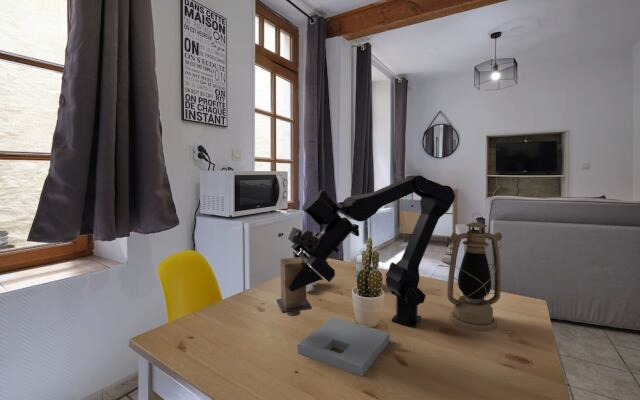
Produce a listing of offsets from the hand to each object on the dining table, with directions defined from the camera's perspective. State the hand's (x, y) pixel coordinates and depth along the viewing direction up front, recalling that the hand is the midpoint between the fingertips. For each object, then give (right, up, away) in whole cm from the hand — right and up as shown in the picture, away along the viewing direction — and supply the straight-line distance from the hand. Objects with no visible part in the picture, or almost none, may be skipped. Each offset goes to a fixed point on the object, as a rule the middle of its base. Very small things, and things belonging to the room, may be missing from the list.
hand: (287, 286), depth 77 cm
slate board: (+14, -14, -1) cm, 19 cm away
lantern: (+50, -13, +12) cm, 53 cm away
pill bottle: (+24, -11, +38) cm, 46 cm away
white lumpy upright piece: (+4, -11, +37) cm, 39 cm away
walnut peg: (+1, -7, +1) cm, 7 cm away
